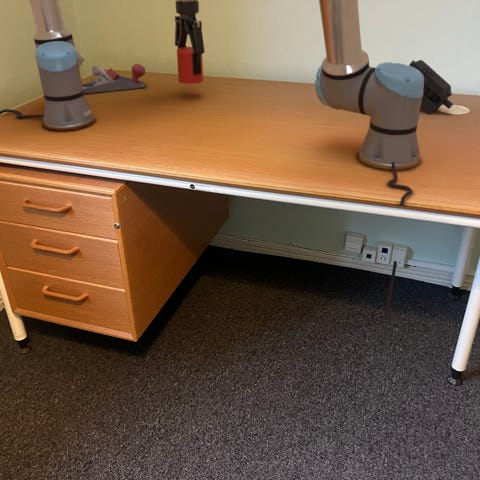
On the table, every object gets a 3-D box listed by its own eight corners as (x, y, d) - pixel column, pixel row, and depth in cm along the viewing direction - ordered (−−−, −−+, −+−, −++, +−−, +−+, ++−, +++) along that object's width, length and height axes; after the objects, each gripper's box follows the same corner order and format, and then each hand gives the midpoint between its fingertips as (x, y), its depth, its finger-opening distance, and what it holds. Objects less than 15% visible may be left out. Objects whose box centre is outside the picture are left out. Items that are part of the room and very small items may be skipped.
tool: (390, 90, 180) (417, 54, 169) (433, 128, 176) (464, 93, 165) (382, 95, 176) (409, 57, 165) (425, 133, 172) (456, 97, 161)
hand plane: (62, 90, 197) (53, 48, 189) (145, 82, 205) (140, 41, 197) (62, 96, 191) (54, 53, 184) (148, 87, 199) (143, 45, 191)
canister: (189, 76, 190) (188, 45, 185) (208, 79, 186) (207, 49, 180) (173, 81, 184) (171, 50, 179) (192, 85, 180) (190, 53, 175)
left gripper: (214, 2, 166) (216, 76, 178) (181, -5, 181) (184, 63, 193) (193, 4, 162) (196, 79, 174) (161, -3, 177) (166, 66, 189)
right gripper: (410, -92, 150) (399, -10, 161) (414, -92, 129) (402, 3, 140) (438, -93, 148) (425, -10, 159) (447, -93, 128) (432, 3, 139)
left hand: (190, 71), depth 183 cm, fingers closed on canister, 9 cm apart
